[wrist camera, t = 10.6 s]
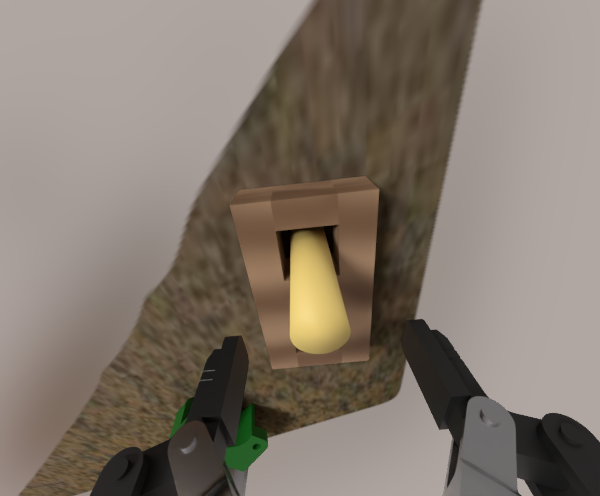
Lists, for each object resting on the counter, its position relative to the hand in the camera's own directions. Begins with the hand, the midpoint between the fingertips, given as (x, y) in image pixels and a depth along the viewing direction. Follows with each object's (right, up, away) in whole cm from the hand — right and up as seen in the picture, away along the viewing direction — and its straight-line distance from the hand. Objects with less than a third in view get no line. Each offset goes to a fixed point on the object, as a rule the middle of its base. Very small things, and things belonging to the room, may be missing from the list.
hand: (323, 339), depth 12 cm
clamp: (-11, -18, +23) cm, 31 cm away
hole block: (0, +2, +12) cm, 12 cm away
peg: (0, +6, +9) cm, 11 cm away
